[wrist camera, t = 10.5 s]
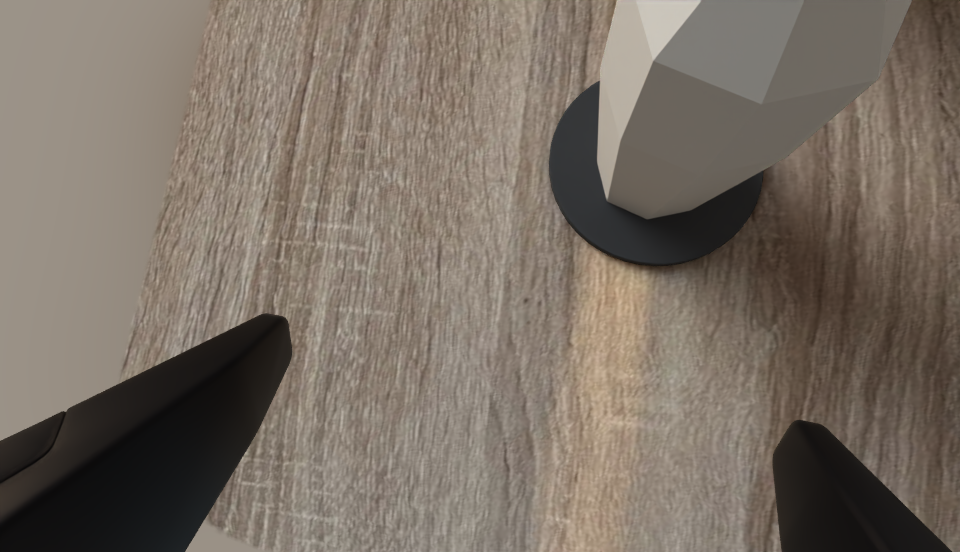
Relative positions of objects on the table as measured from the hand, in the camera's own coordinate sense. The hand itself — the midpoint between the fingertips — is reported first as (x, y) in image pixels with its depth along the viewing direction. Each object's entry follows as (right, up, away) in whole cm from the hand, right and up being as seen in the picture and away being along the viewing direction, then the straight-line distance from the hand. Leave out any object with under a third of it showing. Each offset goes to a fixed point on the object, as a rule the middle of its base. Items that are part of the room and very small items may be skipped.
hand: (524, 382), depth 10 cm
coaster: (+7, +7, +14) cm, 17 cm away
